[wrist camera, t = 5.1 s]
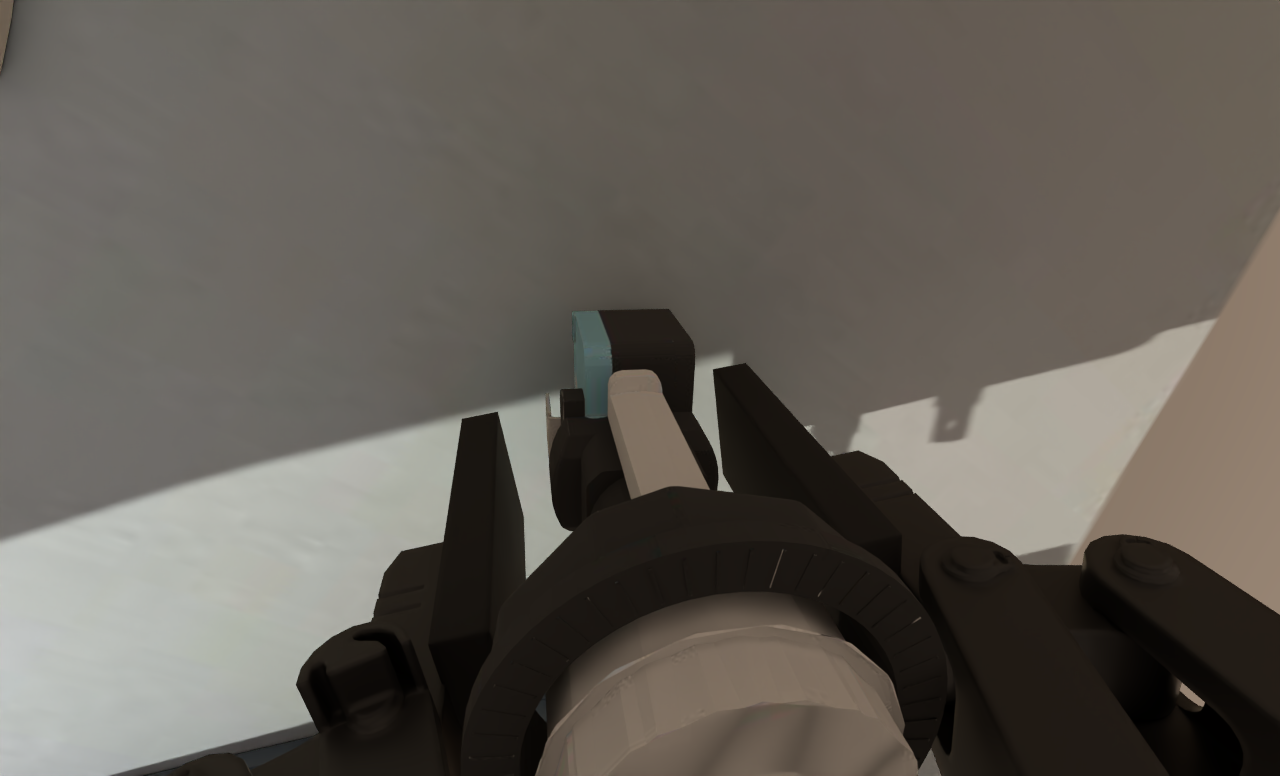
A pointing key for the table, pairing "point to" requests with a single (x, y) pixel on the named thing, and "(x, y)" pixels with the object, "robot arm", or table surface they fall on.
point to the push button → (692, 605)
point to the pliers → (4, 25)
